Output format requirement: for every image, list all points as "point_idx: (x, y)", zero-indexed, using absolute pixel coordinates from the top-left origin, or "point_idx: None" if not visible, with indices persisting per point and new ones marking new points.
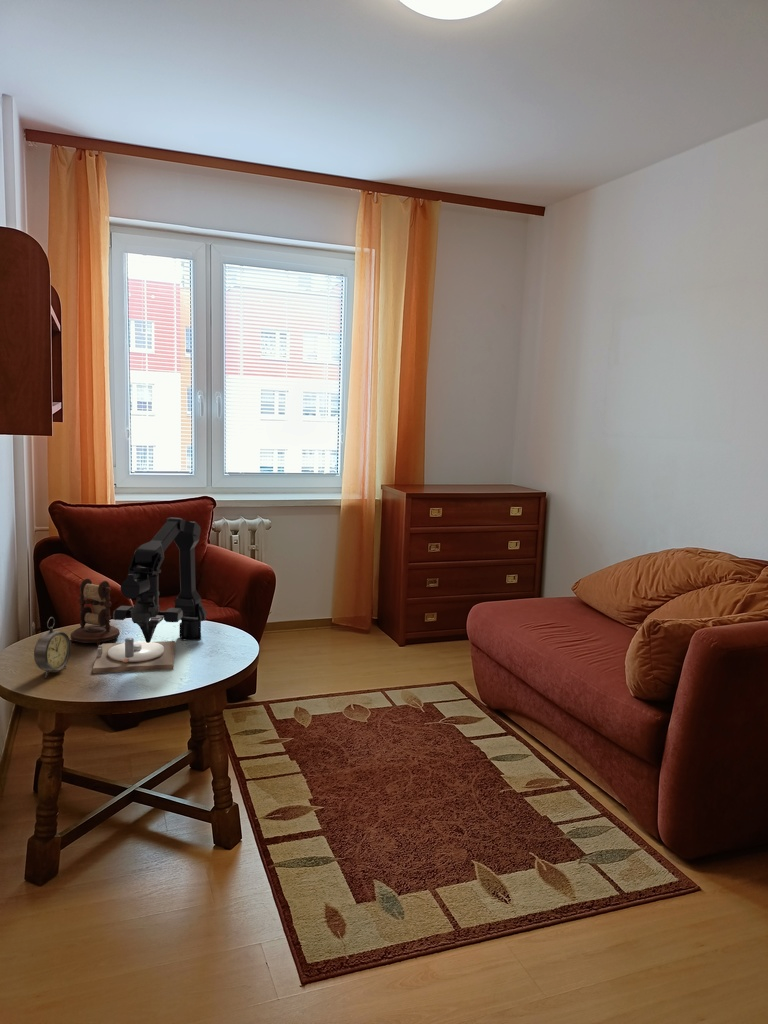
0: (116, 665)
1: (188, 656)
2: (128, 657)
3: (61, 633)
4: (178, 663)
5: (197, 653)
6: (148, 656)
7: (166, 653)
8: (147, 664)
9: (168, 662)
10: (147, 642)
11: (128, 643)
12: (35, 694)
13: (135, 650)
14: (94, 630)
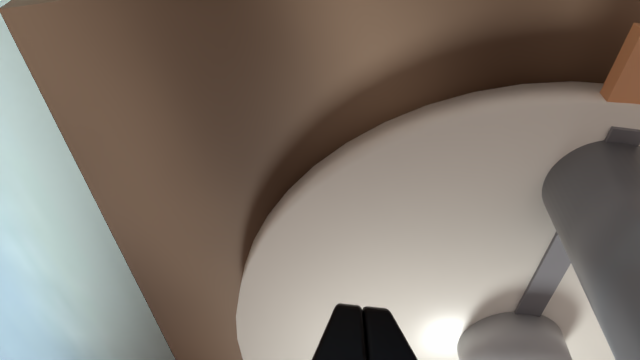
0: None
1: (59, 300)
2: (616, 132)
3: None
4: (65, 161)
5: (22, 345)
6: (353, 168)
7: (218, 307)
8: (341, 8)
9: (95, 79)
10: (368, 307)
11: None
12: None
13: (520, 317)
14: None
